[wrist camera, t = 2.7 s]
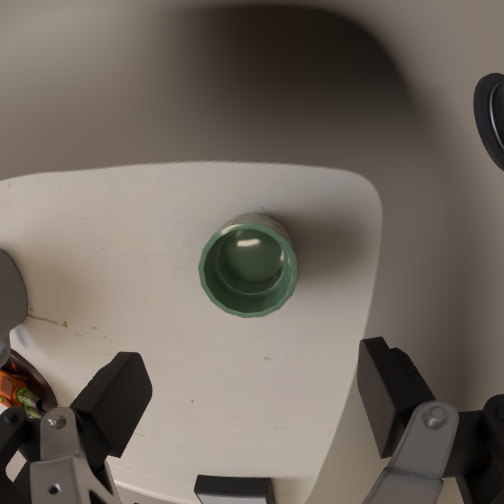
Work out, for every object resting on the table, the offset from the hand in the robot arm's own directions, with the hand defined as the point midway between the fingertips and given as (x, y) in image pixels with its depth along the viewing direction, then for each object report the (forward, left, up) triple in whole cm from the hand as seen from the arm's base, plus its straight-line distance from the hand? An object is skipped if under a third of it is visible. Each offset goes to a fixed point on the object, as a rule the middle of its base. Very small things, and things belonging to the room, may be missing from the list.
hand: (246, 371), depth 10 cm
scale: (+7, +35, -13) cm, 38 cm away
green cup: (+1, -1, -13) cm, 13 cm away
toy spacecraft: (+41, +15, -13) cm, 45 cm away
